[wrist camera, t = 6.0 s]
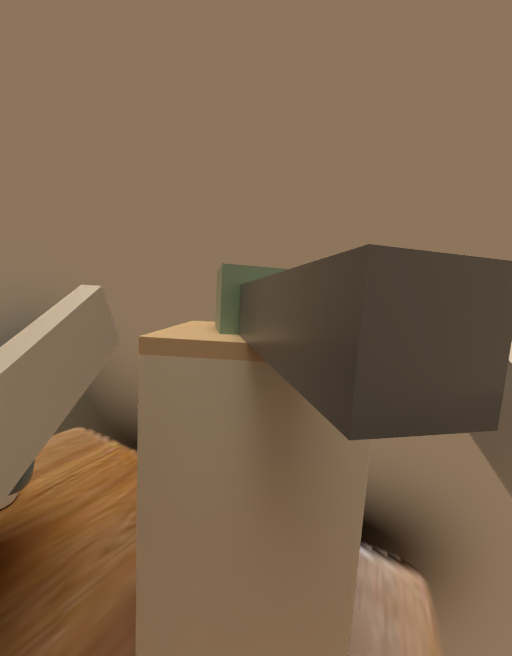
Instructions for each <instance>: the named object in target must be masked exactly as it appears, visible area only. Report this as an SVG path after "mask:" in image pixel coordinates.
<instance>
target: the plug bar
mask: <svg viewBox="0 0 512 656" xmlns="http://www.w3.org/2000/svg"><path fill="white" fill-rule="evenodd" d="M216 292H217V293H216V316H215V327H216V329H217V331H218V332H219V334H235V335H239V336H240V337H241V338H242V339H243V340H244V341H245V342H246V343H247V344H249V345H250V346H251V347H252V348H253V349H254V350H255V351H256V352H257V353H258V354H259V355H260V356H261V357H262V358H263V359H264V360H265V361H266V362H267V363H268V364H269V365H271V366H272V367H273V368H274V369H275V370H276V371H277V372H278V373H279V374H280V375H281V376H282V377H283V378H284V379H285V380H286V381H287V382H288V383H289V384H290V385H291V386H293V387H294V388H295V389H296V390H297V391H298V392H299V393H300V394H301V395H302V396H303V397H304V398H305V399H306V400H307V401H308V402H309V403H310V404H311V405H312V406H313V407H315V408H316V409H317V410H318V411H319V412H320V413H321V414H322V415H323V416H324V417H325V418H326V419H327V420H328V421H329V422H330V423H331V424H332V425H333V426H334V427H335V428H337V429H338V430H339V431H340V432H341V433H342V434H343V435H344V436H345V437H346V438H347V439H348V440H364V439H379V438H393V437H408V436H423V435H439V434H454V433H469V432H484V431H497V429H498V423H499V417H500V410H501V404H502V398H503V392H504V386H505V379H506V373H507V367H508V361H509V355H510V348H511V342H512V261H507V260H498V259H490V258H482V257H473V256H465V255H456V254H448V253H439V252H431V251H422V250H413V249H405V248H396V247H388V246H380V245H371V244H368V245H365V246H362V247H358V248H355V249H352V250H349V251H346V252H342V253H339V254H336V255H333V256H330V257H326V258H323V259H320V260H317V261H314V262H311V263H307V264H304V265H301V266H298V267H295V268H292V269H279V268H267V267H257V266H245V265H234V264H222V265H221V266H220V268H219V269H218V271H217V290H216Z"/></svg>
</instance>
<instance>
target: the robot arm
mask: <svg viewBox="0 0 512 656" xmlns="http://www.w3.org/2000/svg"><path fill="white" fill-rule="evenodd" d="M120 343H121V341H120V338H119V336H118V333H117V330H116V327H115V324H114V321H113V318H112V315H111V312H110V309H109V306H108V304H107V301H106V298H105V295H104V292H103V289H102V286H93V285H81V286H79V287H78V288H77V289H75V290H74V291H73V292H71V293H70V294H69V295H68V296H66V297H65V298H64V299H62V300H61V301H60V302H59V303H57V304H56V305H55V306H53V307H52V308H51V309H49V310H48V311H47V312H46V313H44V314H43V315H42V316H40V317H39V318H38V319H37V320H35V321H34V322H33V323H31V324H30V325H29V326H27V327H26V328H25V329H24V330H22V331H21V332H20V333H18V334H17V335H16V336H14V337H13V338H12V339H11V340H9V341H8V342H7V343H5V344H4V345H3V346H1V347H0V506H1V504H2V503H3V502H4V500H5V499H6V497H7V496H9V495H12V494H15V493H17V492H19V491H20V490H22V489H23V488H24V487H25V486H26V485H27V484H28V483H29V481H30V479H31V477H32V473H33V468H34V462H35V458H36V457H37V455H38V454H39V453H40V451H41V450H42V449H43V447H44V446H45V445H46V443H47V442H48V440H49V439H50V438H51V436H52V435H53V434H54V432H55V431H56V430H57V428H58V427H59V425H60V424H61V423H62V422H63V420H64V419H65V417H66V416H67V415H68V413H69V412H70V411H71V409H72V408H73V407H74V405H75V404H76V403H77V401H78V400H79V398H80V397H81V396H82V394H83V393H84V392H85V390H86V389H87V388H88V386H89V385H90V384H91V382H92V381H93V379H94V378H95V377H96V375H97V374H98V373H99V371H100V370H101V368H102V367H103V366H104V365H105V363H106V362H107V361H108V359H109V358H110V356H111V355H112V354H113V352H114V351H115V350H116V348H117V347H118V346H119V344H120ZM469 434H470V435H471V437H472V438H473V440H474V441H475V443H476V444H477V446H478V447H479V449H480V450H481V452H482V453H483V455H484V456H485V458H486V459H487V461H488V462H489V464H490V465H491V467H492V468H493V470H494V471H495V473H496V474H497V476H498V477H499V479H500V480H501V482H502V483H503V485H504V486H505V488H506V489H507V491H508V492H509V494H510V495H511V497H512V342H511V348H510V355H509V361H508V367H507V373H506V379H505V386H504V392H503V398H502V404H501V410H500V417H499V423H498V429H497V431H484V432H469Z"/></svg>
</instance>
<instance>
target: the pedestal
mask: <svg viewBox="0 0 512 656" xmlns="http://www.w3.org/2000/svg"><path fill="white" fill-rule="evenodd" d="M371 440H372V439H364V440H348V439H347V438H346V437H345V436H344V435H343V434H342V433H341V432H340V431H339V430H338V429H337V428H335V427H334V426H333V425H332V424H331V423H330V422H329V421H328V420H327V419H326V418H325V417H324V416H323V415H322V414H321V413H320V412H319V411H318V410H317V409H316V408H315V407H313V406H312V405H311V404H310V403H309V402H308V401H307V400H306V399H305V398H304V397H303V396H302V395H301V394H300V393H299V392H298V391H297V390H296V389H295V388H294V387H293V386H291V385H290V384H289V383H288V382H287V381H286V380H285V379H284V378H283V377H282V376H281V375H280V374H279V373H278V372H277V371H276V370H275V369H274V368H273V367H272V366H271V365H269V364H268V363H267V362H266V361H265V360H264V359H263V358H262V357H261V356H260V355H259V354H258V353H257V352H256V351H255V350H254V349H253V348H252V347H251V346H250V345H249V344H247V343H246V342H245V341H244V340H243V339H242V338H241V337H240V336H239V335H235V334H219V332H218V331H217V329H216V327H215V322H207V321H190V322H187V323H184V324H180V325H176V326H173V327H170V328H166V329H163V330H159V331H156V332H153V333H149V334H146V335H142V336H139V374H138V464H137V558H136V652H135V656H348V650H349V641H350V632H351V623H352V614H353V605H354V595H355V586H356V577H357V568H358V559H359V550H360V540H361V531H362V522H363V512H364V503H365V494H366V486H367V476H368V467H369V457H370V449H371Z"/></svg>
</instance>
